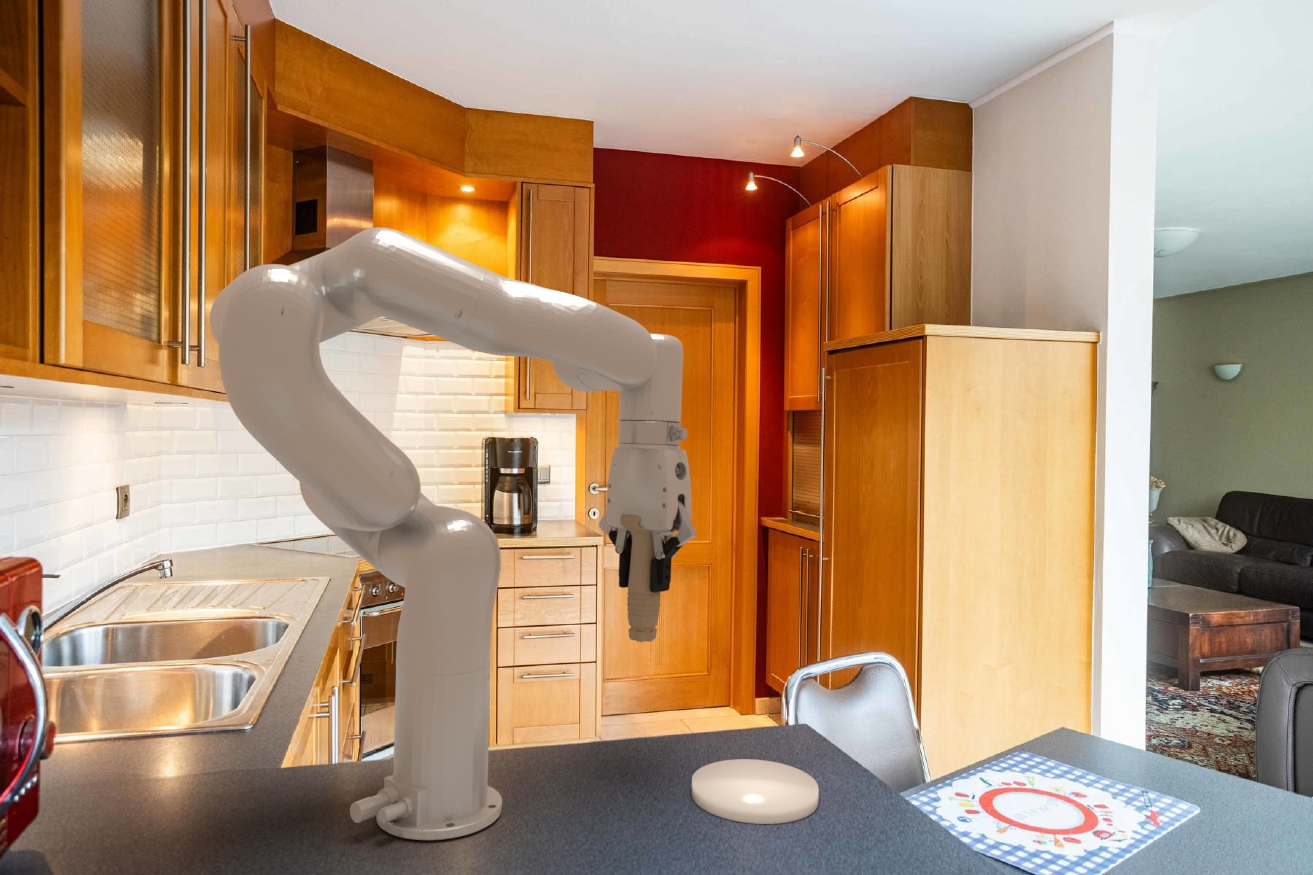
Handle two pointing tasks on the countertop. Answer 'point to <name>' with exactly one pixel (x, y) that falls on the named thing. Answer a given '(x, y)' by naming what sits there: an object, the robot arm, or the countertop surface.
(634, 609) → the handle
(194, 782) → the countertop surface
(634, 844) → the countertop surface
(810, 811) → the plate
